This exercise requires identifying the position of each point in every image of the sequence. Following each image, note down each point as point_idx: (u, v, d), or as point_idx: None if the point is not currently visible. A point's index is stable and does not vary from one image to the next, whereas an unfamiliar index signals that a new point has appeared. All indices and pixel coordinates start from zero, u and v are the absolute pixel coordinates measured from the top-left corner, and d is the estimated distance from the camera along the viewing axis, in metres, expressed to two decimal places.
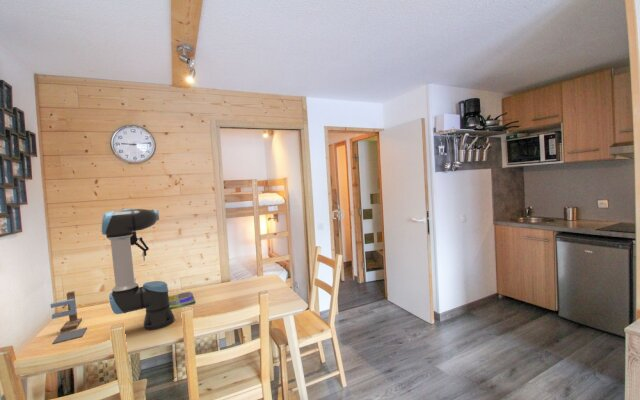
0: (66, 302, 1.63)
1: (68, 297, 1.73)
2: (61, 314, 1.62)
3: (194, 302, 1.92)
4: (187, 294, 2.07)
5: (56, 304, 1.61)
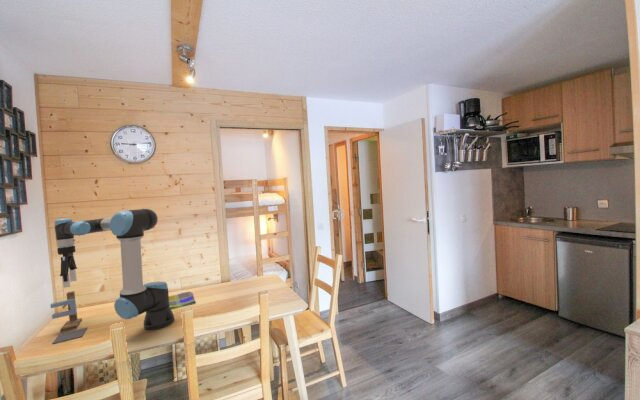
0: (66, 302, 1.63)
1: (68, 297, 1.73)
2: (61, 314, 1.62)
3: (194, 302, 1.92)
4: (187, 294, 2.07)
5: (56, 304, 1.61)
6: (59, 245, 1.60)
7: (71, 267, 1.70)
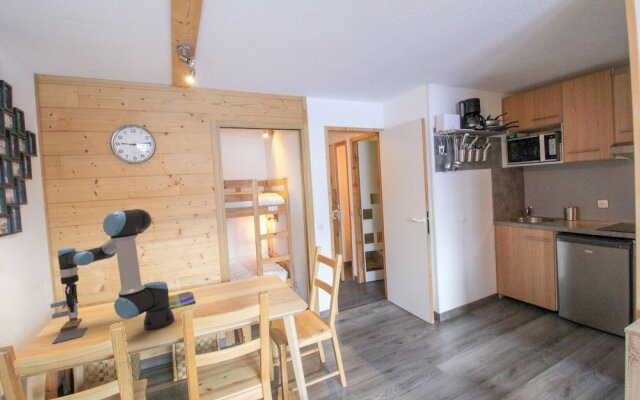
0: (66, 302, 1.63)
1: None
2: (61, 314, 1.62)
3: (194, 302, 1.92)
4: (187, 294, 2.07)
5: (56, 304, 1.61)
6: (62, 275, 1.61)
7: None
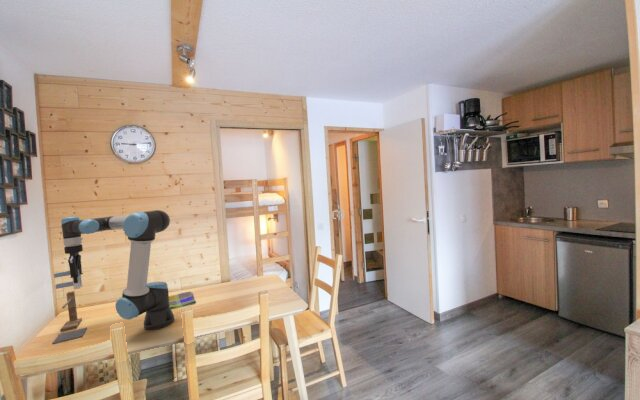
0: None
1: (68, 297, 1.73)
2: (65, 284, 1.58)
3: (194, 302, 1.92)
4: (187, 294, 2.07)
5: (60, 274, 1.57)
6: (66, 244, 1.56)
7: None
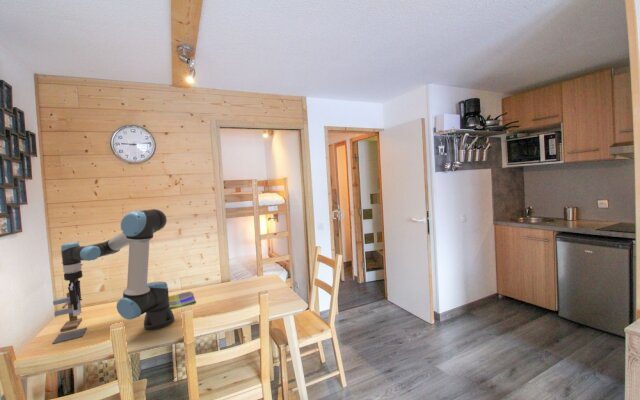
0: (69, 299, 1.57)
1: None
2: (64, 311, 1.56)
3: (194, 302, 1.92)
4: (187, 294, 2.07)
5: (59, 301, 1.55)
6: (66, 271, 1.55)
7: None
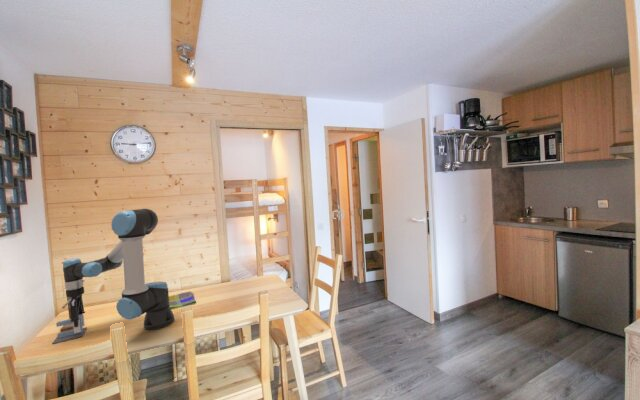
0: None
1: (68, 297, 1.73)
2: (67, 333, 1.56)
3: (194, 302, 1.92)
4: (188, 294, 2.07)
5: (62, 322, 1.56)
6: (68, 287, 1.55)
7: (79, 311, 1.63)
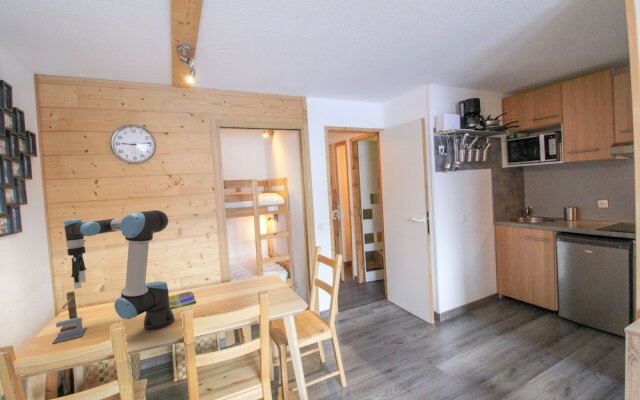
0: (72, 321, 1.57)
1: (68, 297, 1.73)
2: (67, 333, 1.56)
3: (194, 302, 1.92)
4: (188, 294, 2.07)
5: (62, 323, 1.55)
6: (69, 246, 1.59)
7: (80, 268, 1.68)
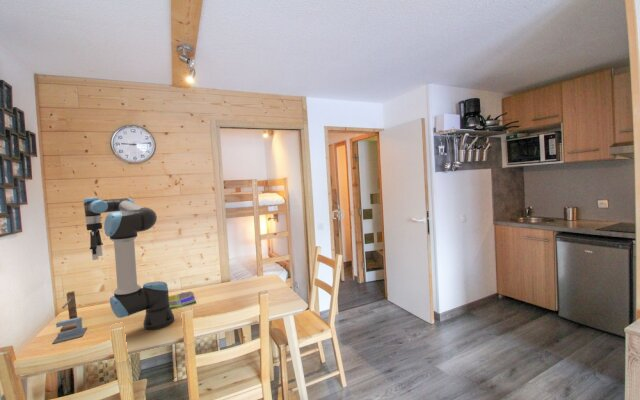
0: (72, 321, 1.57)
1: (68, 297, 1.73)
2: (67, 333, 1.56)
3: (195, 301, 1.92)
4: (188, 294, 2.07)
5: (62, 323, 1.55)
6: (88, 221, 1.75)
7: (98, 243, 1.85)
